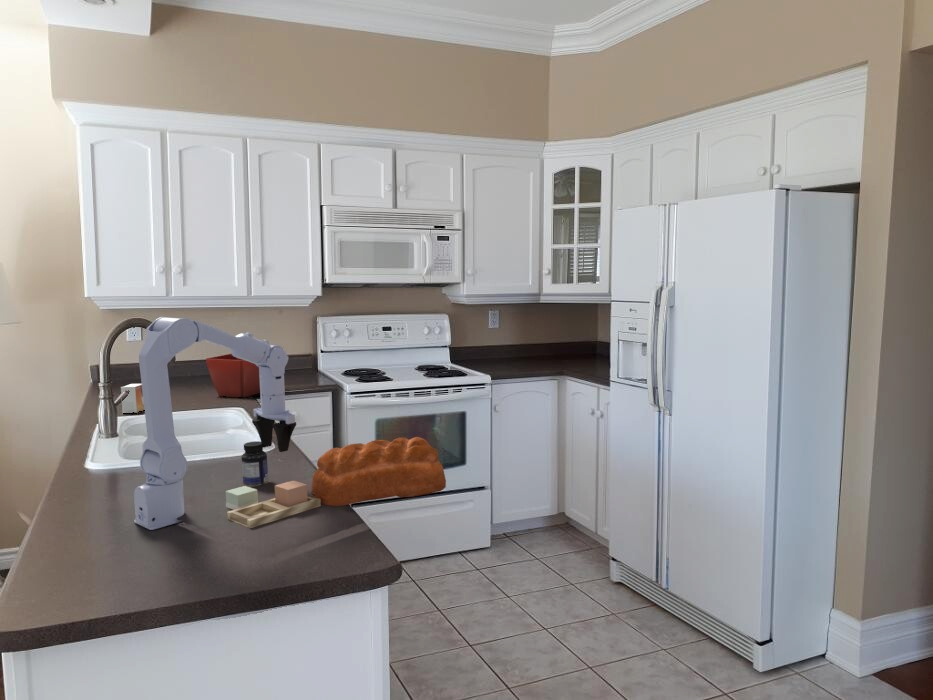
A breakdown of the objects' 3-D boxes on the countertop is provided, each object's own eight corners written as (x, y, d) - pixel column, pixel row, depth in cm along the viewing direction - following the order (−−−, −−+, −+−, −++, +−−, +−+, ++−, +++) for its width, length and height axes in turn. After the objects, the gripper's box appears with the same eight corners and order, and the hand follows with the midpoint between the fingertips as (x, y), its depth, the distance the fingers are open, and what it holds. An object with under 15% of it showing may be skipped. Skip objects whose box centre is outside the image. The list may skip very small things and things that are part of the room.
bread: (452, 492, 176) (451, 439, 174) (326, 514, 161) (323, 456, 159) (424, 476, 189) (423, 426, 188) (306, 495, 175) (303, 442, 173)
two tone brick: (238, 517, 159) (237, 495, 159) (226, 512, 163) (225, 491, 162) (258, 511, 163) (257, 489, 163) (246, 506, 166) (245, 485, 166)
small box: (136, 414, 275) (135, 386, 274) (122, 414, 275) (120, 386, 274) (146, 410, 283) (144, 383, 282) (132, 410, 283) (130, 383, 282)
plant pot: (243, 400, 302) (241, 359, 300) (206, 397, 309) (204, 358, 307) (271, 392, 320) (269, 354, 318) (235, 390, 326) (234, 353, 324)
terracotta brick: (288, 512, 158) (288, 489, 158) (275, 507, 162) (274, 485, 161) (307, 506, 162) (306, 484, 162) (294, 501, 165) (293, 480, 165)
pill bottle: (259, 481, 186) (256, 439, 184) (273, 485, 182) (271, 442, 180) (238, 487, 181) (235, 444, 180) (252, 492, 177) (250, 447, 176)
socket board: (250, 533, 149) (250, 521, 149) (227, 523, 155) (226, 511, 155) (321, 510, 163) (321, 499, 162) (297, 502, 169) (296, 491, 168)
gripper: (304, 394, 174) (306, 450, 176) (269, 388, 184) (272, 441, 185) (279, 399, 169) (282, 456, 171) (244, 392, 179) (247, 446, 180)
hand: (275, 448), depth 178 cm, fingers open, 6 cm apart
